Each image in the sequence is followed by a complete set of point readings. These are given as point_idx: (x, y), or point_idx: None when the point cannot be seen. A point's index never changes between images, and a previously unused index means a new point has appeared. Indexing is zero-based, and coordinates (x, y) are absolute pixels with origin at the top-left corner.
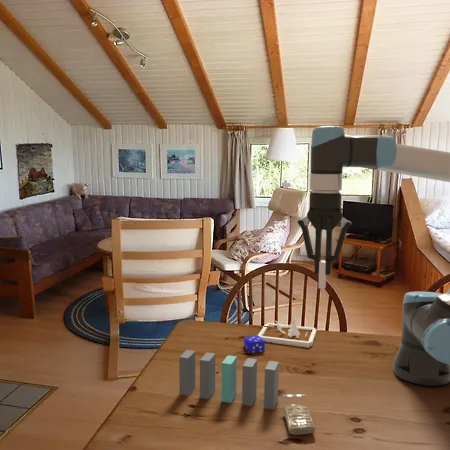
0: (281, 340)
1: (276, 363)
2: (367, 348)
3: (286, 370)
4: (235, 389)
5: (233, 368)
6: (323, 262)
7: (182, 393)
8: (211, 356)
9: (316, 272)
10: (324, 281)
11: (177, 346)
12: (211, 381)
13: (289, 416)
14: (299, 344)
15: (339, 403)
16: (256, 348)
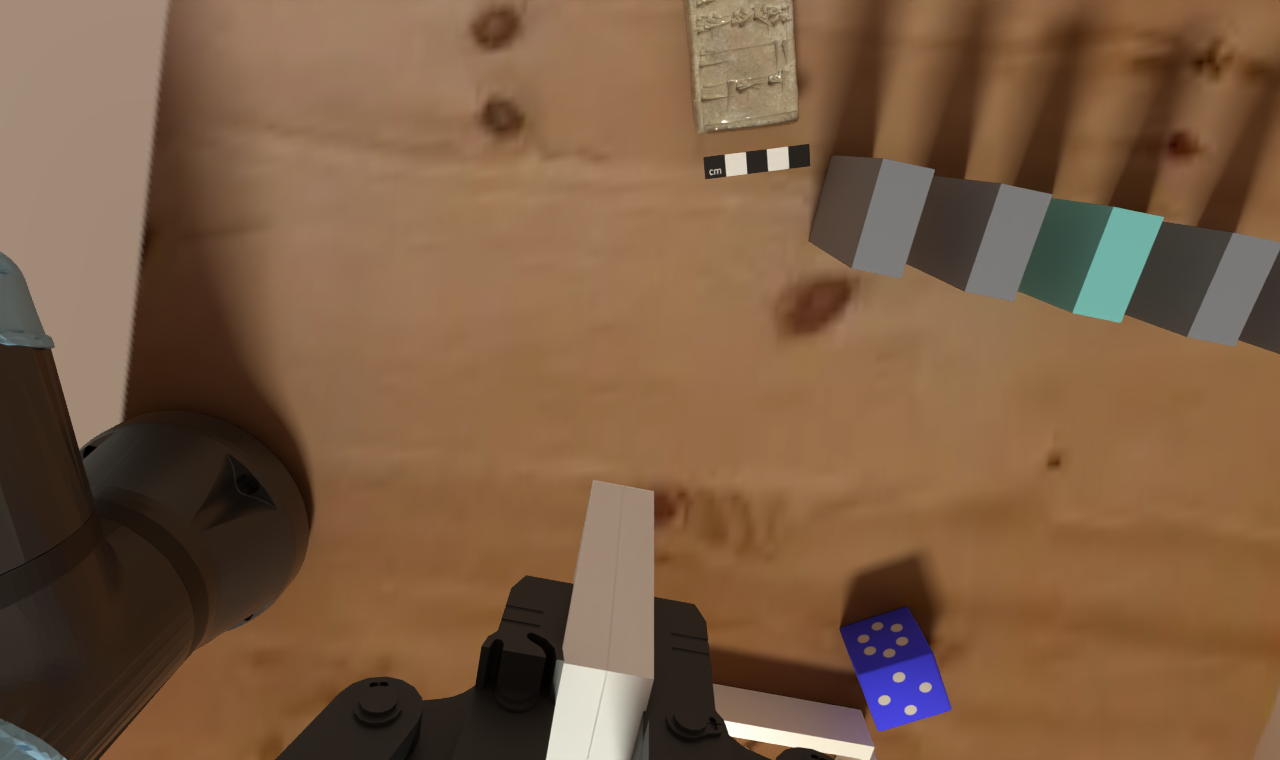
0: (769, 725)
1: (865, 246)
2: None
3: (753, 511)
4: None
5: (1073, 244)
6: (590, 670)
7: None
8: (1213, 295)
9: (681, 613)
10: (589, 519)
11: (1222, 686)
12: None
13: (783, 21)
14: None
15: (555, 245)
16: (887, 642)
